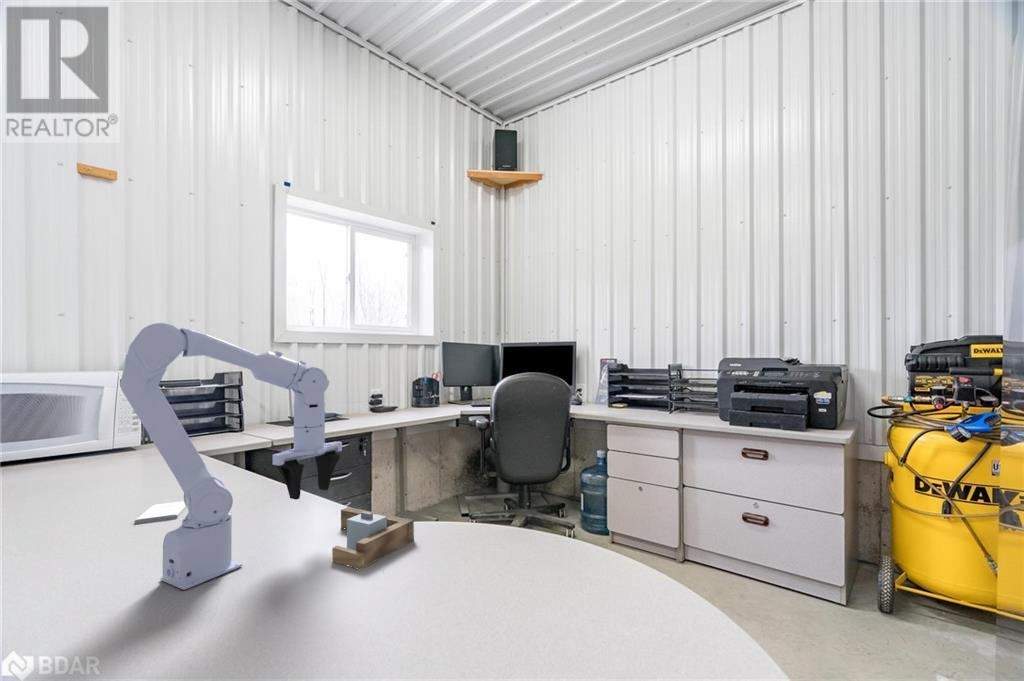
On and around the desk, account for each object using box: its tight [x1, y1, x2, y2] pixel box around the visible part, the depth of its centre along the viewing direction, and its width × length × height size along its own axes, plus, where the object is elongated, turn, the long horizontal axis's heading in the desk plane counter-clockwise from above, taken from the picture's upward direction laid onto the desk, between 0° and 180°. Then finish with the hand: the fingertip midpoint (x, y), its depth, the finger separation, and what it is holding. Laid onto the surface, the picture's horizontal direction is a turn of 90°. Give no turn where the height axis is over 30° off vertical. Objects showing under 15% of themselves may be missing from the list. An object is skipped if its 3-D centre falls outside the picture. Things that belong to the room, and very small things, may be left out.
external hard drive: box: [134, 500, 188, 525], centre depth 110 cm, size 2×8×12 cm
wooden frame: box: [331, 506, 415, 570], centre depth 88 cm, size 14×19×4 cm
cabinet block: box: [346, 510, 387, 551], centre depth 86 cm, size 4×6×7 cm
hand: (309, 493), depth 89 cm, fingers open, 6 cm apart
